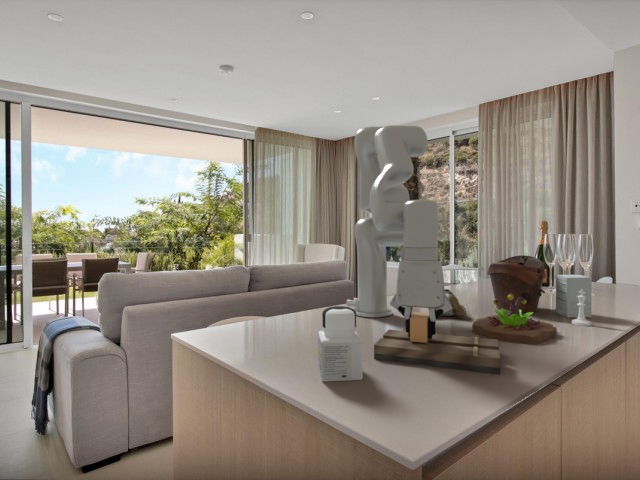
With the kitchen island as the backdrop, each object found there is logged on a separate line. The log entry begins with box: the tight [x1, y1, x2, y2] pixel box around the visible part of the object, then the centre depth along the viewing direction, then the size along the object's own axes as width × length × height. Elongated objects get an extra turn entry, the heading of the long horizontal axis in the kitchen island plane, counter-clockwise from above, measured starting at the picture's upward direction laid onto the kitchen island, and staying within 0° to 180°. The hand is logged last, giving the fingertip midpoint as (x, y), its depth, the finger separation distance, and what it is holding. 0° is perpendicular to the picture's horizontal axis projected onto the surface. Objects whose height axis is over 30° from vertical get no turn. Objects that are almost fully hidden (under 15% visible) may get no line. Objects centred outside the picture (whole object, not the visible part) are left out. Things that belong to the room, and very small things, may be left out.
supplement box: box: [555, 274, 593, 318], centre depth 126 cm, size 7×7×13 cm
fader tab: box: [410, 311, 430, 343], centre depth 89 cm, size 4×6×7 cm, turn 157°
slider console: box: [373, 329, 501, 375], centre depth 88 cm, size 25×14×3 cm, turn 67°
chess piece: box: [571, 289, 592, 327], centre depth 115 cm, size 5×5×10 cm
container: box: [317, 305, 364, 383], centre depth 77 cm, size 8×8×13 cm
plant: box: [471, 293, 558, 345], centre depth 106 cm, size 20×20×11 cm
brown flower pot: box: [486, 255, 547, 313], centre depth 135 cm, size 18×20×18 cm
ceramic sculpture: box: [436, 288, 467, 317], centre depth 128 cm, size 11×9×15 cm
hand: (420, 335), depth 89 cm, fingers closed on fader tab, 3 cm apart
